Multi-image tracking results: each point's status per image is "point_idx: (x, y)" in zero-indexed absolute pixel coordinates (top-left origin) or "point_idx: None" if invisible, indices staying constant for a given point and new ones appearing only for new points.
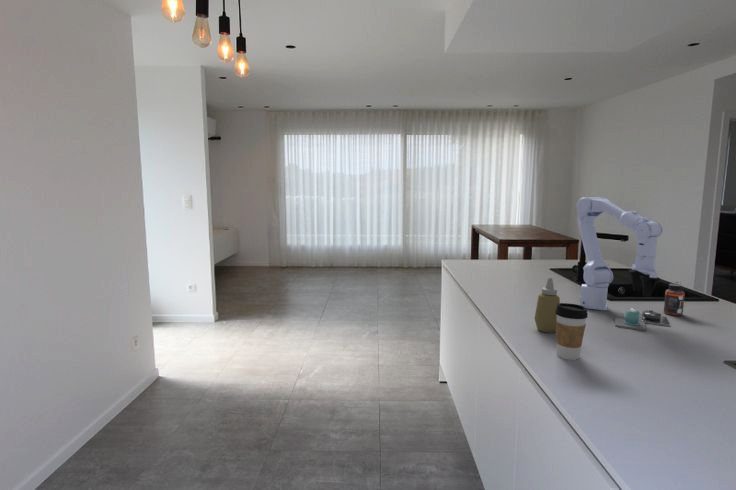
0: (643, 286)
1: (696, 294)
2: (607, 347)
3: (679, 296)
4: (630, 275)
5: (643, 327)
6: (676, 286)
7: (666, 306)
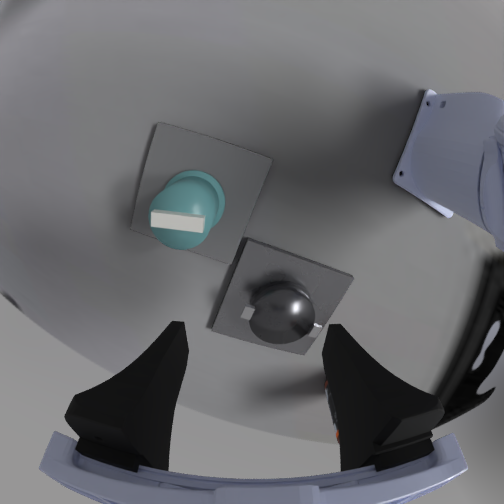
0: (138, 362)
1: (441, 422)
2: (3, 76)
3: (336, 431)
4: (406, 388)
5: (150, 228)
6: None
7: None
